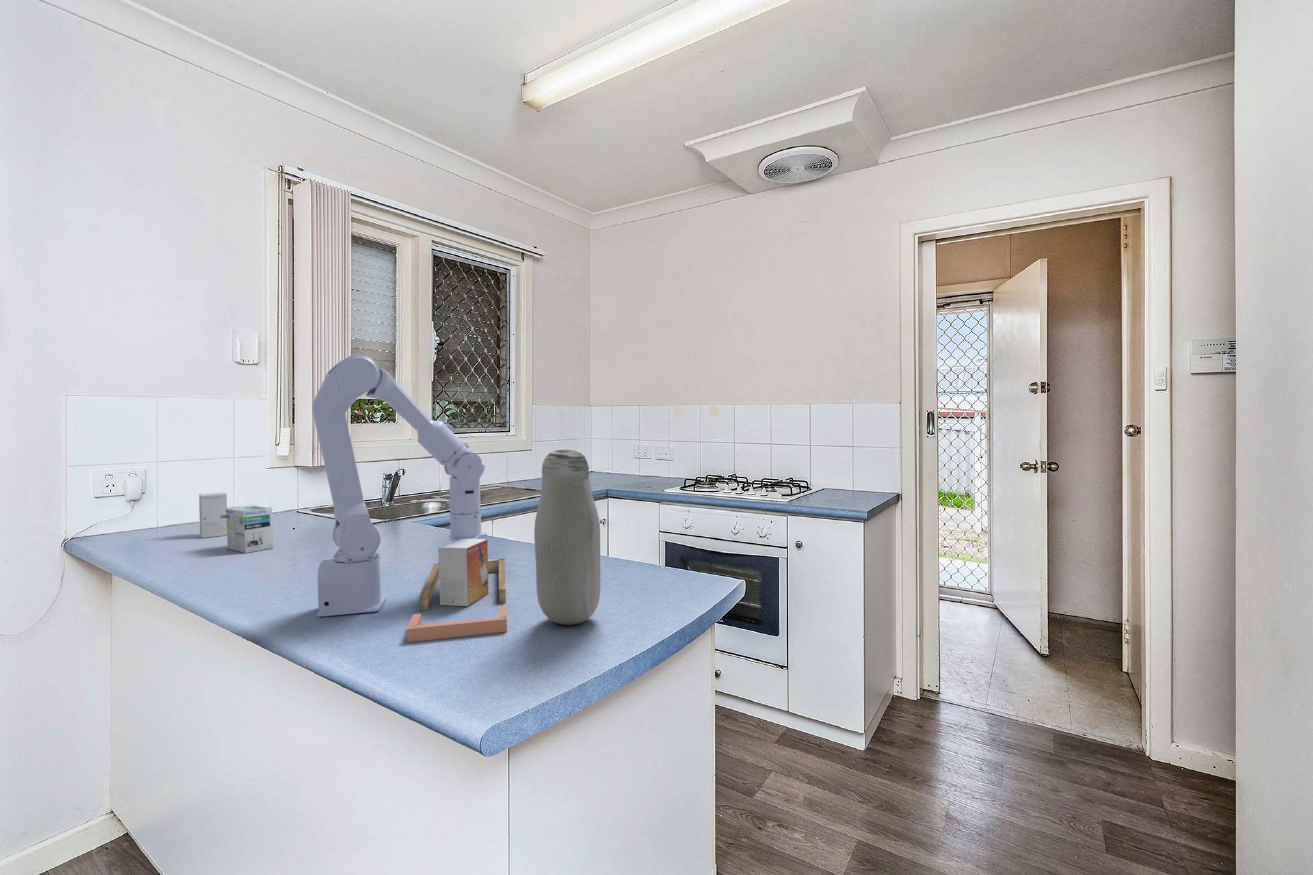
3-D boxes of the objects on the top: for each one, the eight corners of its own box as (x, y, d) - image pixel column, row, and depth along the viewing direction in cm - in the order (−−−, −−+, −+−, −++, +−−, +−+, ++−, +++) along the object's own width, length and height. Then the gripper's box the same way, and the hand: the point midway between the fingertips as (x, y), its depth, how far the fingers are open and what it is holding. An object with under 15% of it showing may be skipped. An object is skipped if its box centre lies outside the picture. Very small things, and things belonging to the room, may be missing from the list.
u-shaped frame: (420, 610, 100) (419, 596, 100) (434, 575, 122) (434, 563, 122) (505, 602, 104) (505, 588, 104) (504, 569, 126) (504, 558, 125)
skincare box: (201, 538, 162) (199, 495, 161) (199, 536, 165) (197, 494, 165) (228, 535, 166) (226, 493, 166) (226, 532, 169) (224, 491, 169)
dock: (407, 642, 86) (406, 629, 86) (413, 626, 92) (413, 614, 92) (506, 631, 90) (506, 618, 90) (506, 617, 96) (506, 605, 96)
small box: (467, 607, 101) (466, 548, 101) (438, 605, 102) (437, 547, 102) (489, 593, 109) (488, 538, 109) (462, 592, 110) (461, 537, 110)
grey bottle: (610, 615, 96) (608, 448, 95) (578, 637, 87) (575, 452, 86) (560, 607, 101) (557, 447, 99) (524, 627, 91) (520, 451, 90)
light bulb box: (274, 548, 149) (273, 506, 148) (245, 553, 143) (243, 510, 143) (255, 543, 155) (253, 503, 154) (226, 548, 149) (224, 507, 149)
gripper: (486, 517, 107) (487, 589, 107) (487, 505, 121) (488, 569, 121) (445, 519, 105) (447, 593, 105) (451, 507, 119) (453, 572, 119)
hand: (467, 581), depth 113 cm, fingers closed
